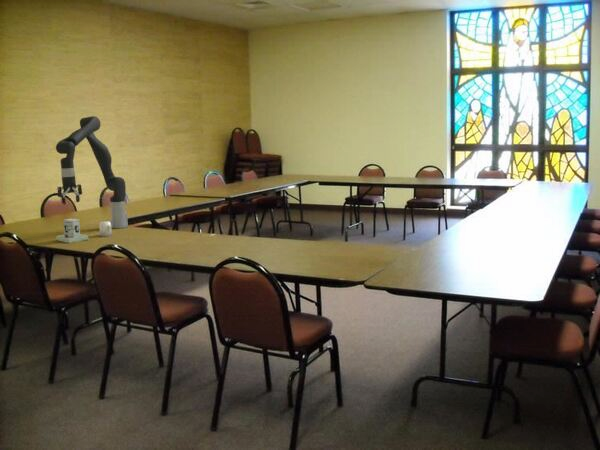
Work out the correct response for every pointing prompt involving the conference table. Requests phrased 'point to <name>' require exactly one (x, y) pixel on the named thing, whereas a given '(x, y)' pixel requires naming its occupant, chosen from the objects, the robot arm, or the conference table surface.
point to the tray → (72, 240)
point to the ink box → (71, 228)
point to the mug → (105, 228)
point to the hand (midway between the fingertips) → (71, 203)
